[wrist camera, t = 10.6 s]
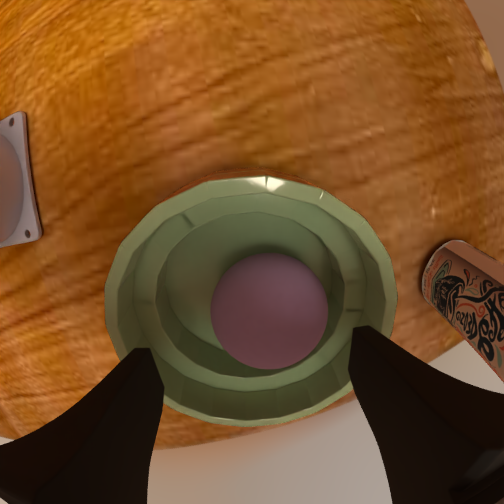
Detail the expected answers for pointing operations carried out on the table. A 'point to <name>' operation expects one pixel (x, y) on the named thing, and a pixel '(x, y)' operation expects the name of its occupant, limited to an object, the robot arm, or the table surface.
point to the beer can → (469, 297)
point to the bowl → (214, 267)
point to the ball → (269, 311)
